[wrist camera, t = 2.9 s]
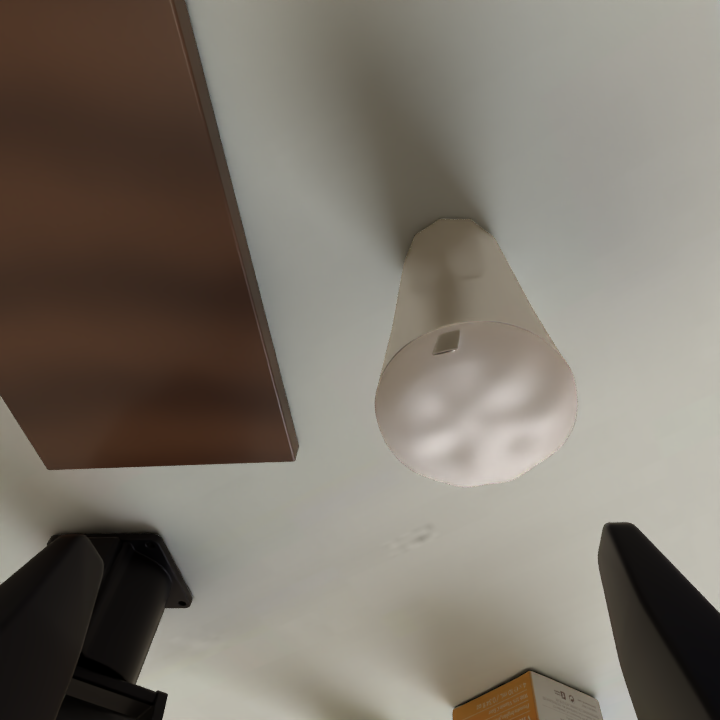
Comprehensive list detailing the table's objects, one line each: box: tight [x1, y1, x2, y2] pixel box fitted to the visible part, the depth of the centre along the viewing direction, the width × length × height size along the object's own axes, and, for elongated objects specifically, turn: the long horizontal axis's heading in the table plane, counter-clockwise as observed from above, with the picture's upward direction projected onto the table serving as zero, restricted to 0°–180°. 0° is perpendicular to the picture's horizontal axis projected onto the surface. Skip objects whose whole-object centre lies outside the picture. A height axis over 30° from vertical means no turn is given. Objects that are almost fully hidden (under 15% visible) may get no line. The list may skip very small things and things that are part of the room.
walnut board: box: [0, 0, 299, 470], centre depth 20 cm, size 18×12×1 cm, turn 7°
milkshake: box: [375, 219, 577, 487], centre depth 15 cm, size 4×5×10 cm
